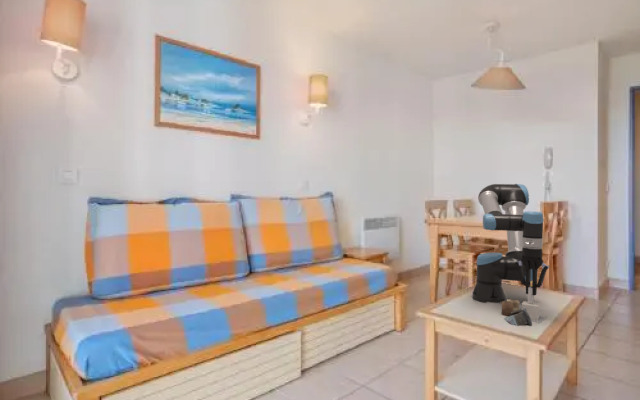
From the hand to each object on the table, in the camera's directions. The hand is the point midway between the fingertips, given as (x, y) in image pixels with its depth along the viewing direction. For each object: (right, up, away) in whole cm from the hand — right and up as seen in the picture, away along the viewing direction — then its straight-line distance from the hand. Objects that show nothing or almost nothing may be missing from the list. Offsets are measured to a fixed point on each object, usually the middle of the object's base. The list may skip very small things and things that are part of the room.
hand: (530, 302), depth 159 cm
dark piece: (-10, -8, -5) cm, 13 cm away
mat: (0, -7, 0) cm, 7 cm away
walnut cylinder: (-9, -7, +3) cm, 12 cm away
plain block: (0, -7, 0) cm, 7 cm away
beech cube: (-3, -7, +9) cm, 12 cm away
